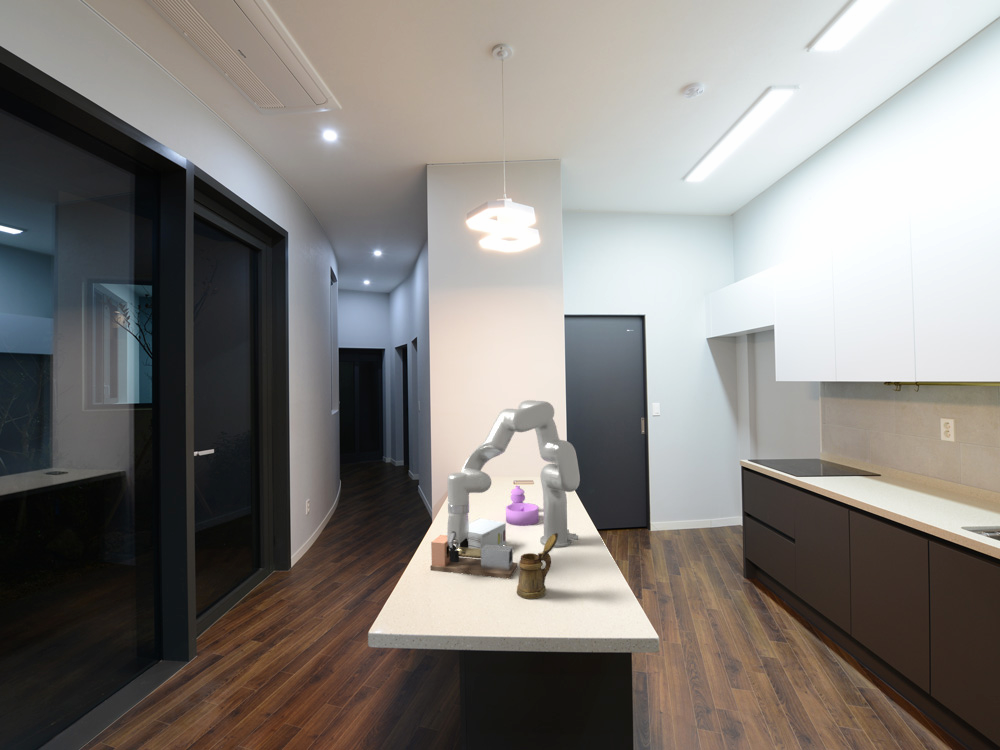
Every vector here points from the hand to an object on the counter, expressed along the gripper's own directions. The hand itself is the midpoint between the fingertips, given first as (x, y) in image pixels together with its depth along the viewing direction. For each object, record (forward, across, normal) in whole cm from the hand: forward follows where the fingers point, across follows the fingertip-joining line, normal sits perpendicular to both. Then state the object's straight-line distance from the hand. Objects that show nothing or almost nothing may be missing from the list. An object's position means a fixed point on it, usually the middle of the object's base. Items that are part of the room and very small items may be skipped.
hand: (459, 556), depth 166 cm
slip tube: (0, 0, +3) cm, 3 cm away
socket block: (+2, 0, -7) cm, 7 cm away
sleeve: (+2, 0, +14) cm, 14 cm away
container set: (+4, -62, +7) cm, 63 cm away
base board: (+4, 0, +6) cm, 7 cm away
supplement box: (+4, -19, +2) cm, 20 cm away
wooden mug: (+4, +12, +31) cm, 33 cm away
